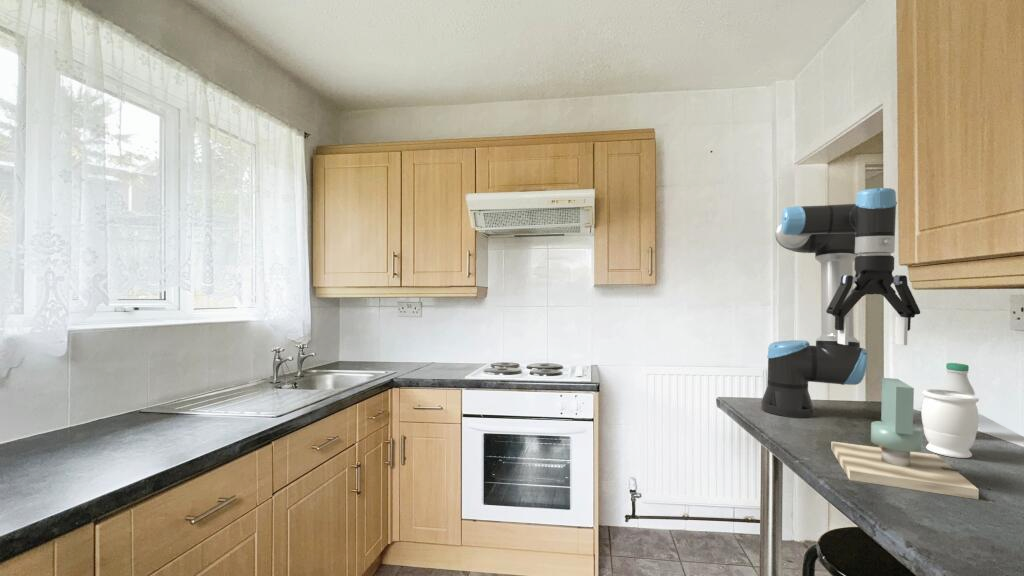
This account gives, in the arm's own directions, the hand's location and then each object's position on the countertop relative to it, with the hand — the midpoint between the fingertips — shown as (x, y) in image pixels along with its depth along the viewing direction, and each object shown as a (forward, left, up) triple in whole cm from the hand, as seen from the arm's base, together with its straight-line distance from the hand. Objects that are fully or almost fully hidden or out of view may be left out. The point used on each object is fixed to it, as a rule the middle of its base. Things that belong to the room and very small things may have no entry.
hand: (871, 344), depth 114 cm
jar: (-16, +20, -28) cm, 38 cm away
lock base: (+5, +4, -28) cm, 28 cm away
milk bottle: (-36, +28, -28) cm, 53 cm away
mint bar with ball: (+4, +4, -22) cm, 22 cm away
